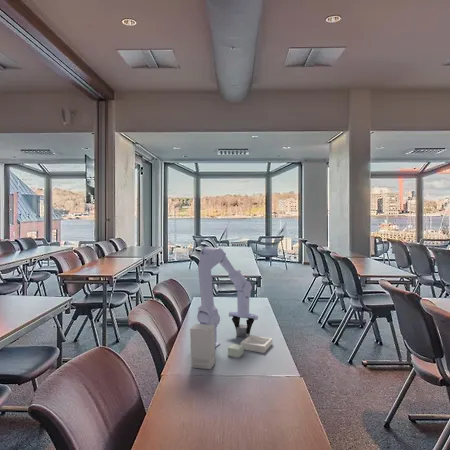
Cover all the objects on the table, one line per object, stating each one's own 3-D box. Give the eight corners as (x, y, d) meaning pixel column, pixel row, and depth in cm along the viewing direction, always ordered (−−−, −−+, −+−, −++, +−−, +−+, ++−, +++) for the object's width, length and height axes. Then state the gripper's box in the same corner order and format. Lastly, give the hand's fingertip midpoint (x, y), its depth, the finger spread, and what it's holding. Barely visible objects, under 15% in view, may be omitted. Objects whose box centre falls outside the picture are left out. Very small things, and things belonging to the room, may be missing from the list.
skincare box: (215, 363, 149) (215, 324, 148) (210, 370, 143) (210, 329, 142) (195, 361, 151) (195, 322, 151) (189, 367, 145) (189, 327, 144)
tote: (264, 353, 160) (264, 346, 160) (240, 348, 165) (240, 342, 164) (272, 344, 170) (272, 338, 170) (249, 340, 175) (249, 334, 174)
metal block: (246, 338, 179) (246, 328, 178) (236, 336, 181) (236, 327, 180) (249, 334, 183) (249, 325, 183) (240, 333, 185) (240, 324, 185)
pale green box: (238, 357, 155) (238, 349, 155) (227, 355, 157) (227, 347, 157) (243, 353, 160) (243, 345, 160) (232, 351, 162) (232, 343, 162)
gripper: (260, 304, 182) (260, 332, 182) (232, 301, 188) (232, 328, 188) (255, 308, 175) (255, 336, 176) (227, 304, 181) (226, 332, 182)
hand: (243, 332), depth 182 cm, fingers closed on metal block, 5 cm apart
